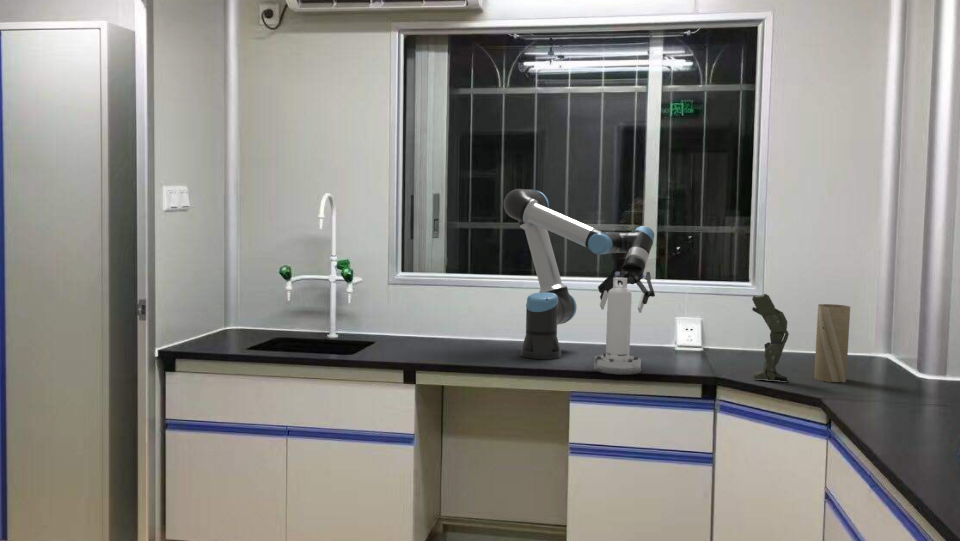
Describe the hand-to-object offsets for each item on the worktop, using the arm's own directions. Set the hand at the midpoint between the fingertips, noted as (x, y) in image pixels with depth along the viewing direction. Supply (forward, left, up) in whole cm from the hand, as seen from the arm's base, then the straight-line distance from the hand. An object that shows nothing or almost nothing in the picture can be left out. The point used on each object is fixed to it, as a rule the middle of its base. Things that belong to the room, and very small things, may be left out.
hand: (620, 308), depth 288 cm
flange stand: (0, +1, -21) cm, 22 cm away
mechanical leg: (+48, -13, -22) cm, 54 cm away
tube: (+70, -11, -22) cm, 74 cm away
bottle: (0, +1, -18) cm, 18 cm away
